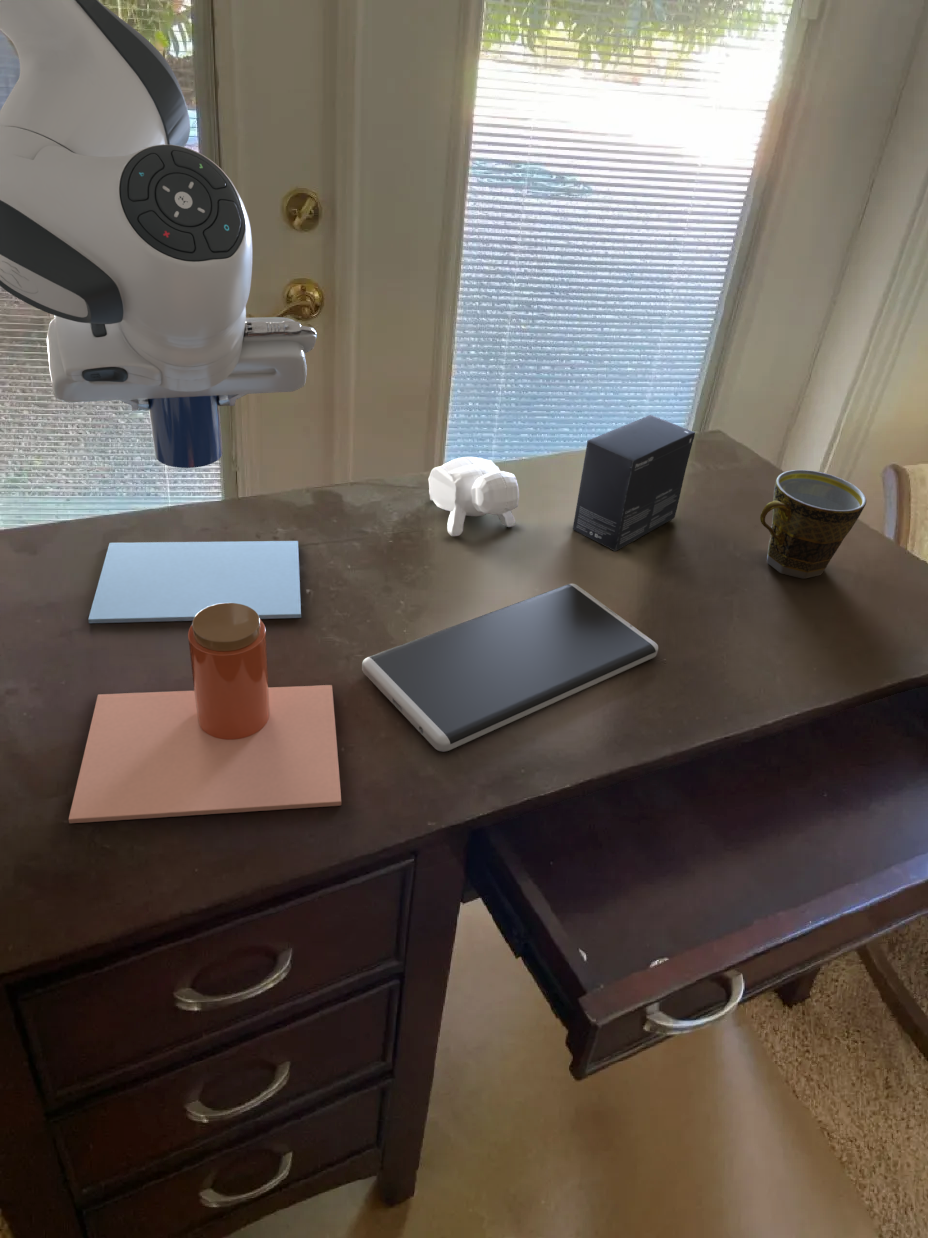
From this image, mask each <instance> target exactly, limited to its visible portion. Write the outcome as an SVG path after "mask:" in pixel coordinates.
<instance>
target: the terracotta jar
mask: <svg viewBox="0 0 928 1238" xmlns="http://www.w3.org/2000/svg"><path fill="white" fill-rule="evenodd" d="M265 625H266V624H264V622H263V621H262V619H260V618H259V615H258V614H257V613H256V611H254V610H253V609H252V608H250V607H248V606H245V605H242V604H237V603H221V604H216V605H212V606H209V607H207V608H205V609H203V610H201V611H200V612H199V613H198V614H197V615H196V616H195V617H194V619H193V621H191V625H190V627H189V628H188V631H187V641H188V648H189V658H190V666H191V675H192V684H193V691H194V694H195V702H196V711H197V720H198V724H199V726H200V727H201V729H202V730H203V731H204V732H205V733H207V734H208V735H210V736H213V737H215V738H219V739H226V740H234V739H241V738H245V737H248V736H251V735H253V734H255V733H257V732H258V731H260V730H261V729H262V728H263V727H264V726H265V725H266V723H267V721H268V720H269V716H270V707H269V688H270V687H269V671H268V670H269V669H268V648H267V629H266V626H265Z"/></svg>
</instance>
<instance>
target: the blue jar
mask: <svg viewBox="0 0 928 1238" xmlns="http://www.w3.org/2000/svg"><path fill="white" fill-rule="evenodd" d="M148 400H149V410H148V413H149V421H150V430H151V436H152V445H153V452H154V457H155V459H156V461H158V462H160V463H161V464H163V465H164V466H168V467H173V468H179V469H194V468H195V469H196V468H201V467H205V466H209V465H212V464H215V462H217V461H219V460H220V459H221V458H222V456H223V441H222V439H223V438H222V429H221V428H222V427H221V416H220V406H219V401H218V395H215V396H195V397H174V398H154V399H148Z"/></svg>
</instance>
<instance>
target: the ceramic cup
mask: <svg viewBox="0 0 928 1238" xmlns="http://www.w3.org/2000/svg"><path fill="white" fill-rule="evenodd" d="M773 489H774V490H773V496H772V497H773V498H772V501H769V502H768V503H767V504H766V505H765V506H764V508H763V509H762V511H761V513H760V517H759V520H760V523H761V525H762V526H763V527H764V528H766V530H768V532H769V534H770V535H769V541H768V548H767V556H766V563H767V564H768V565H769V566H771V567H772V568H773V569H775V570H776V571H777V572H778V573H780V574H782V575H786V576H791V577H794V578H799V579H803V580H804V579H810V578H813V577H818V576H820V575H822V574H823V573H824V572H825V570H826V568H827V567H828V565H829V563H830V562H831V561H832V558H833V557H834V556H835V554H836V553H837V551H838V549H839V548H840V546H841V544H842V543H843V541H844V539H845V538H846V537H847V536H848V534H849V533H850V531H851V530H852V529H853V527H854V525H855V524H856V522H857V521H858V519H859V518H860V516H861V514H862V512H863V510H864V509H865V507H866V505H867V498H866V495H865V493H863V491H862V490H860V488H858V487H857V486H856V485H855V484H853V483H851V482H850V481H847V480H845V479H844V478H841V477H838V476H836V475H832V474H829V473H827V472H826V473H825V472H821V471H816V470H810V469H809V470H808V469H794V470H787V471H784V472H782V473H779V475H778V476H777V477H776V479H775V484H774V488H773ZM771 511H772V514H771V515H772V516H771V517H772V520H771V525H769V524H768V523H767V522H766V517H767V515H768V514H769V512H771Z"/></svg>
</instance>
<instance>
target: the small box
mask: <svg viewBox="0 0 928 1238" xmlns="http://www.w3.org/2000/svg"><path fill="white" fill-rule="evenodd" d="M695 436H696V431H693V430H690V429H688V428H686V427H684V426H680V425H678V424H676V423H673V422H671V421H668V420H666V419H662V418H660V417H658V416H655V415H652V414H648V415H646V416H644V417H642V418H640V419H636V420H634V421H632V422H629V423H626V424H624V425H623V426H619V427H617V428H615V429H612V430H610V431H608V432H605V433H602V434H599V435H598V436H595V437H593V438H590V439H588V440H587V441H586V447H585V454H584V459H583V466H582V470H581V477H580V482H579V483H580V484H579V490H578V494H577V495H578V496H577V502H576V507H575V514H574V518H573V525H572V530H574V531H575V532H576V533H579V534H581V535H583V536H585V537H587V538H589V539H591V540H593V541H594V542H597V543H599V544H601V545H602V546H604V547H606V548H608V549H610V550H612V551H614V552H616V551H619V550H620V549H622V548H624V547H625V546H628V545H629V544H632V543H633V542H634V541H636V540H638V539H640V538H641V537H643V536H645V535H647V534H648V533H651V532H652V531H654V530H656V529H657V528H659V527H661V526H663V525H664V524H666V523H668V522H670V521H672V520H673V519H675V518H676V513H677V510H678V505H679V502H680V497H681V492H682V487H683V483H684V480H685V474H686V472H687V471H686V470H687V467H688V463H689V458H690V455H691V451H692V447H693V443H694V440H695Z"/></svg>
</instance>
